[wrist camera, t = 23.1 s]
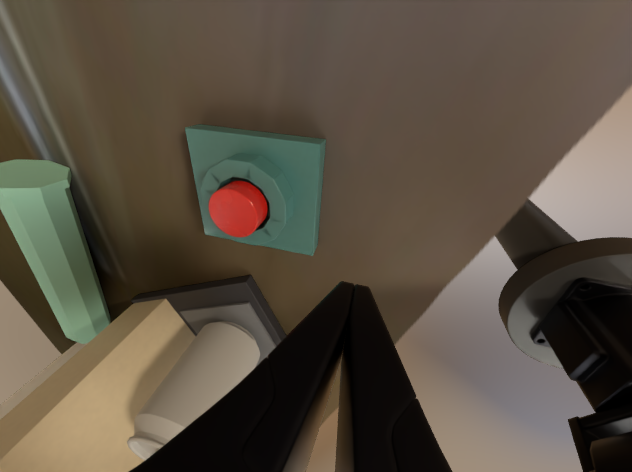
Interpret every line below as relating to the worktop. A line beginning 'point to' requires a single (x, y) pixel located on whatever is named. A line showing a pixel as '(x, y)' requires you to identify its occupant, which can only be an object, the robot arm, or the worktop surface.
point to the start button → (238, 208)
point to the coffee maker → (123, 378)
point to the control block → (263, 181)
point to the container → (54, 243)
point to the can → (194, 384)
